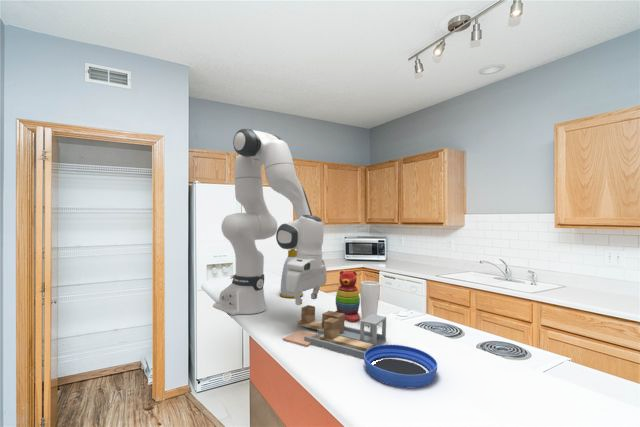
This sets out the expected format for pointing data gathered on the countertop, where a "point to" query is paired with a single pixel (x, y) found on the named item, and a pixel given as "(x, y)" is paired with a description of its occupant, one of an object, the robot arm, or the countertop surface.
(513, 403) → the countertop surface
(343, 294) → the stacking bear
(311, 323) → the strip far
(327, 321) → the strip near
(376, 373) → the blue round shallow tray
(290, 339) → the coaster
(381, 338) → the lane board
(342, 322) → the walnut block
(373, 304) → the drinking glass
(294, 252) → the soap bottle
